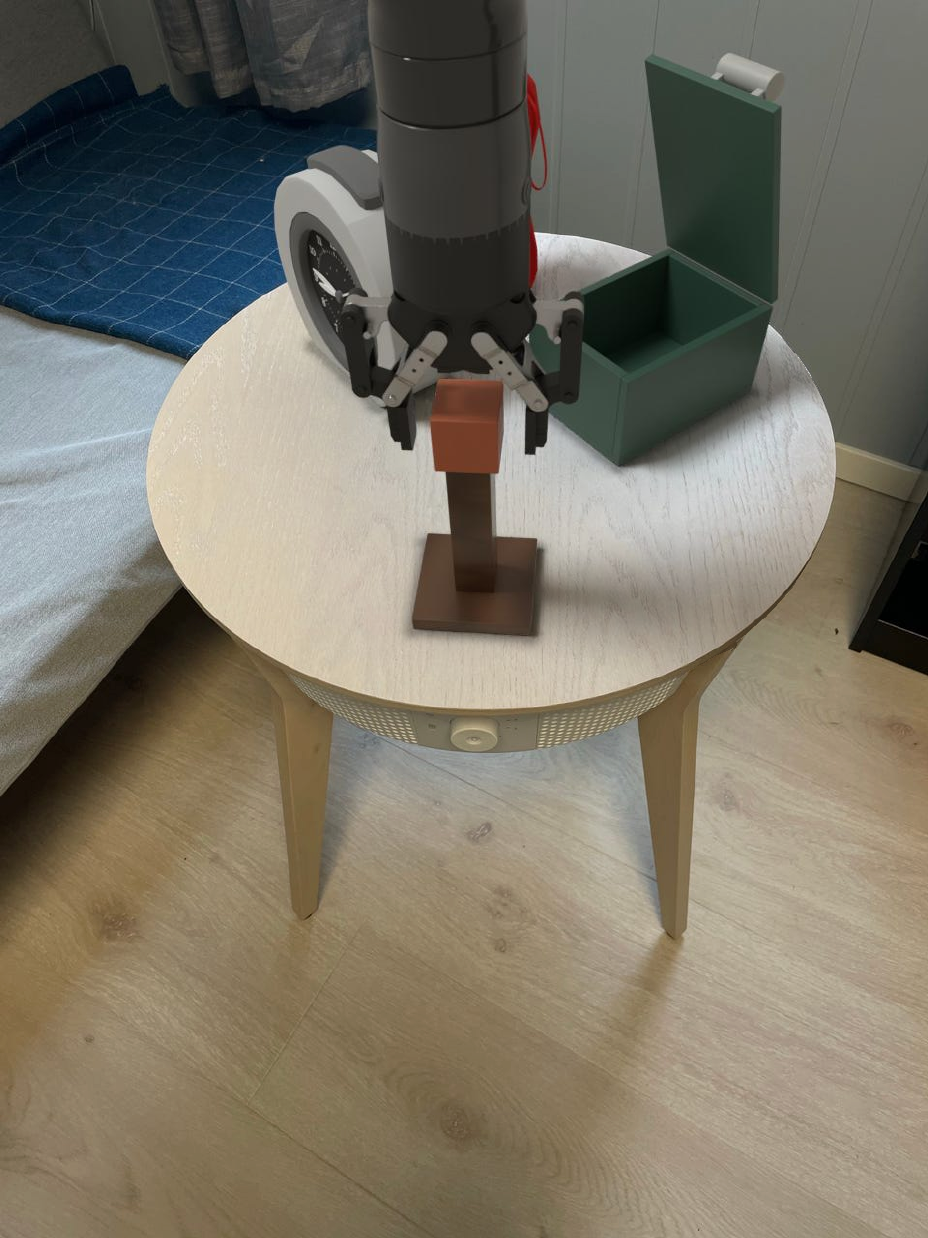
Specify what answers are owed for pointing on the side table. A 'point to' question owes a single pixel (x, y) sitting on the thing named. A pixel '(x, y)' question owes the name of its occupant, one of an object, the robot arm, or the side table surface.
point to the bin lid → (720, 166)
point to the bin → (657, 353)
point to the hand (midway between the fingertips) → (469, 444)
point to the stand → (475, 567)
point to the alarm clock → (337, 249)
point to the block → (467, 426)
